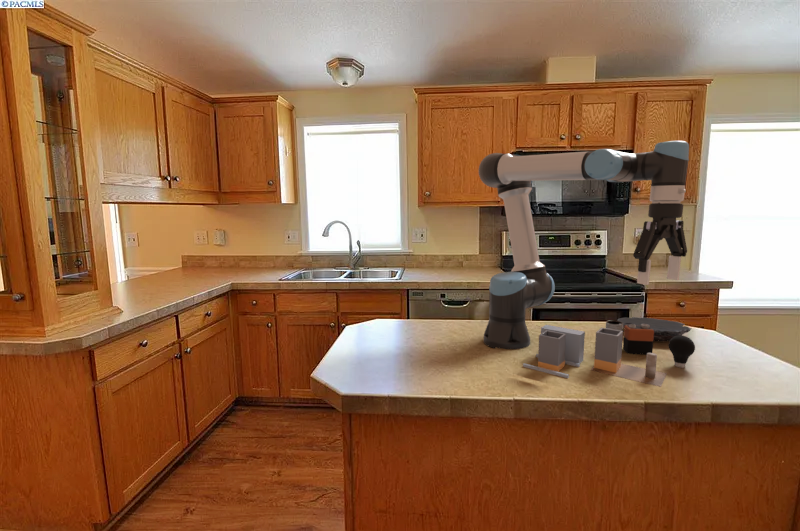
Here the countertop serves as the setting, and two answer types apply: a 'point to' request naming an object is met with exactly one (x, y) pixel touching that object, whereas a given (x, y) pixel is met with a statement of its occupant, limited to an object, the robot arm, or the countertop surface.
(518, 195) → the robot arm
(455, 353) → the countertop surface
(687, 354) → the light bulb
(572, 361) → the feeder
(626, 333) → the battery
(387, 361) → the countertop surface
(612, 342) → the seated sleeve
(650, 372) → the pinboard
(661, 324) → the board
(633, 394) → the countertop surface
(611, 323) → the planter
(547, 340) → the sleeve
